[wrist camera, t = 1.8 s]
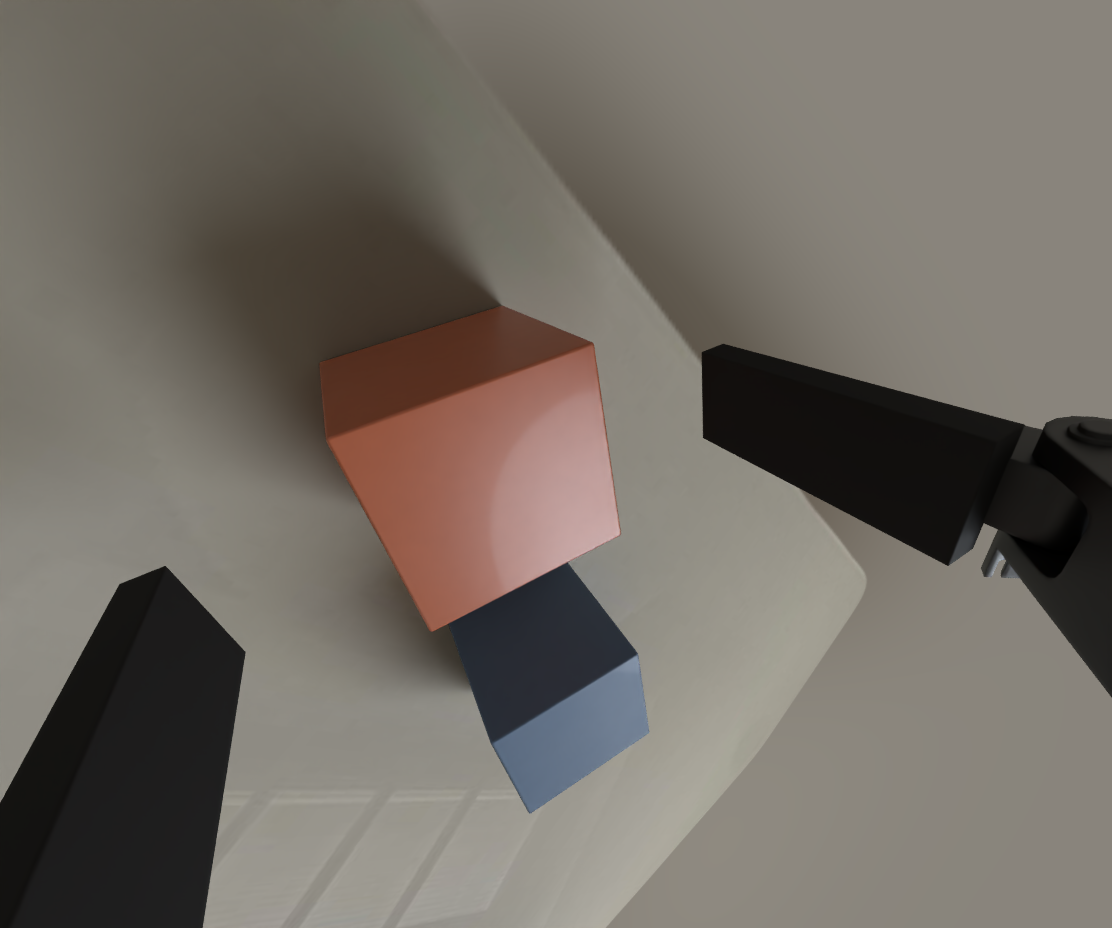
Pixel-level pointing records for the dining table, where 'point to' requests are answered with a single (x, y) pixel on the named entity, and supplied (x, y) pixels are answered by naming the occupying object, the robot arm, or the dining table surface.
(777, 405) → the robot arm
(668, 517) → the dining table surface
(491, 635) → the steel blue cube
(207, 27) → the dining table surface
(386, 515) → the rust orange cube
